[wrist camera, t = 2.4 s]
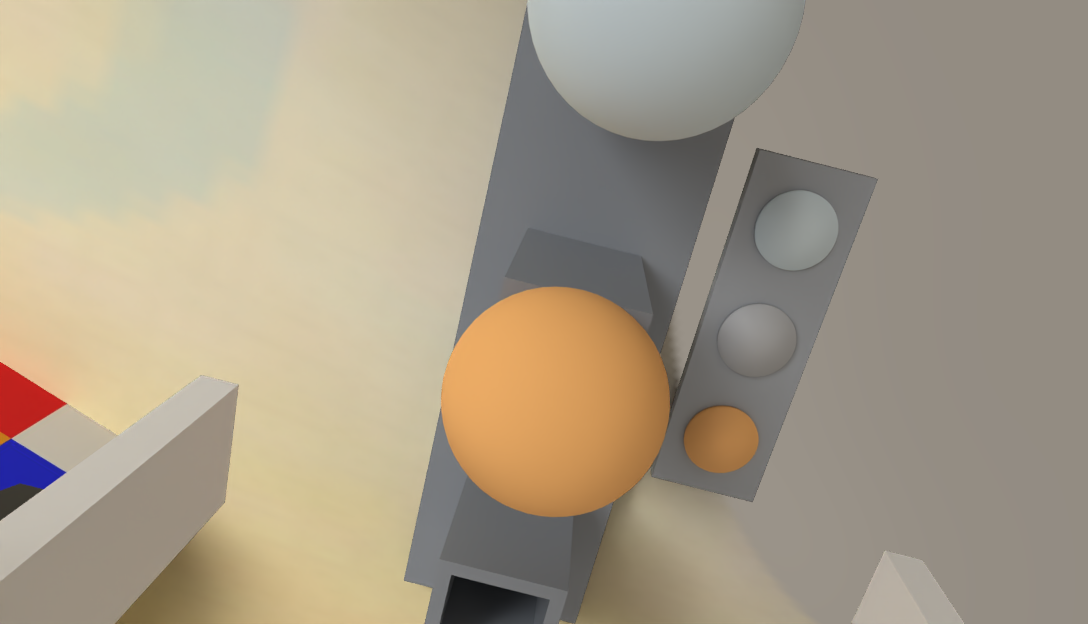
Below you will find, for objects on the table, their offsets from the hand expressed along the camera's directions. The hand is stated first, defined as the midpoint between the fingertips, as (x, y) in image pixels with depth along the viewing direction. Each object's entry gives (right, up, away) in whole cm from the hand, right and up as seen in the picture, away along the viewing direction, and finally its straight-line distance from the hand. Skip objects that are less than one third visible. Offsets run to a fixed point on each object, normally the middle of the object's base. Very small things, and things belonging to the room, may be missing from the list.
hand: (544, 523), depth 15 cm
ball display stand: (+1, +5, +15) cm, 16 cm away
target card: (+8, +3, +15) cm, 17 cm away
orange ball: (0, +2, +5) cm, 5 cm away
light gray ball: (+3, +11, +2) cm, 11 cm away
